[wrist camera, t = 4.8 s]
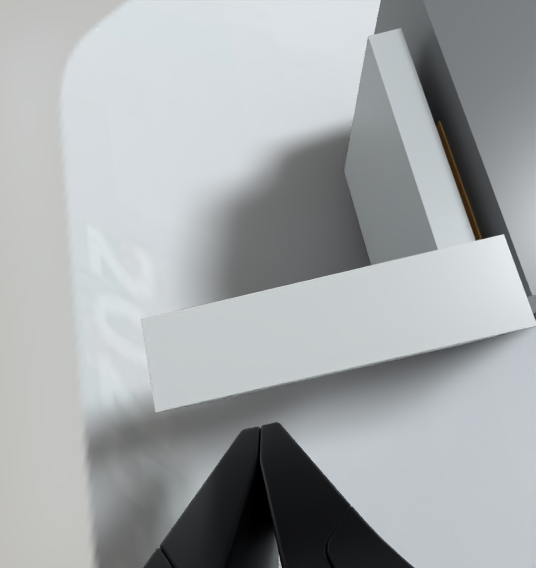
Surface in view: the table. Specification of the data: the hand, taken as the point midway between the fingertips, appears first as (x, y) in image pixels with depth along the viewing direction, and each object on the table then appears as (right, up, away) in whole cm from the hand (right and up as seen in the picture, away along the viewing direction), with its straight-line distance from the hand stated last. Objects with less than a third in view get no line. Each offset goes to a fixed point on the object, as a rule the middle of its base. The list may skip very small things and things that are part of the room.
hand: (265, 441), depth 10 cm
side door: (+1, +4, +5) cm, 6 cm away
